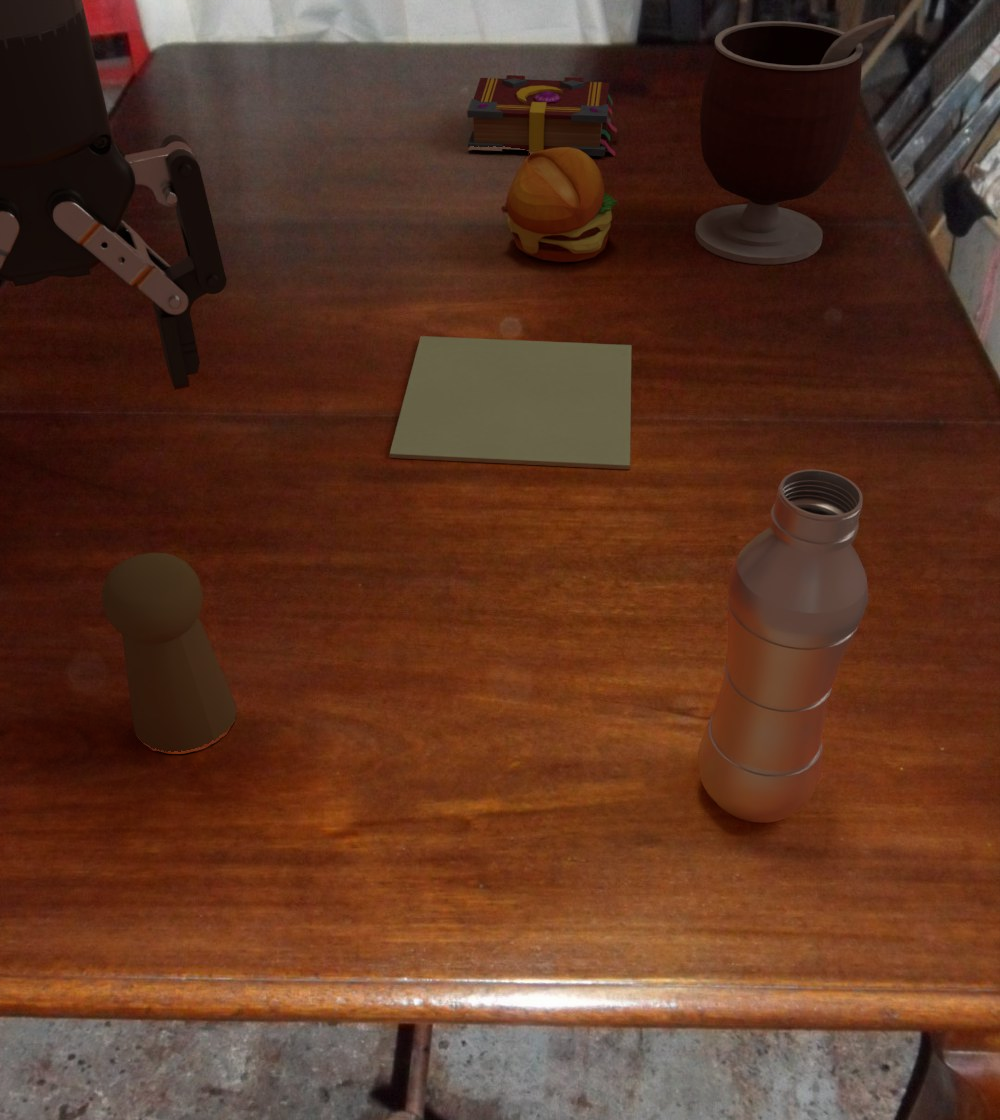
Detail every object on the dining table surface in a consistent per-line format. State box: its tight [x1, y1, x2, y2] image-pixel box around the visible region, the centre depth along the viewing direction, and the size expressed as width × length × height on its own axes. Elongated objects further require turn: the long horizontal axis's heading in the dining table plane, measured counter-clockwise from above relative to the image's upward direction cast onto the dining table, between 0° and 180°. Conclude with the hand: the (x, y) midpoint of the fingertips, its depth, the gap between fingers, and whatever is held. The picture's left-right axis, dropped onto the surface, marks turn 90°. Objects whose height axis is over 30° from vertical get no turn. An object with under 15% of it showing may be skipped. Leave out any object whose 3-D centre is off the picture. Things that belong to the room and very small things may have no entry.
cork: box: [101, 552, 237, 752], centre depth 66 cm, size 6×6×11 cm
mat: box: [389, 335, 633, 471], centre depth 95 cm, size 18×18×1 cm
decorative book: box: [466, 74, 618, 157], centre depth 132 cm, size 11×16×5 cm
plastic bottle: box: [697, 468, 869, 824], centre depth 59 cm, size 6×7×20 cm
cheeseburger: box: [500, 147, 619, 263], centre depth 111 cm, size 10×11×10 cm
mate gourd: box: [694, 14, 896, 266], centre depth 109 cm, size 16×14×20 cm
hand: (86, 398), depth 55 cm, fingers open, 8 cm apart
